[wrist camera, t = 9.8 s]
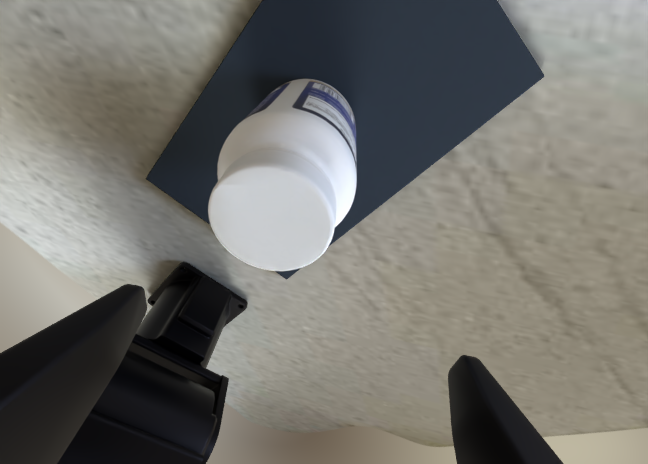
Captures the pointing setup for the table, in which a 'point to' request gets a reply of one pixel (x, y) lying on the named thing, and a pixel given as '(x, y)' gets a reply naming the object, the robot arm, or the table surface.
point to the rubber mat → (359, 87)
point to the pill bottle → (286, 177)
